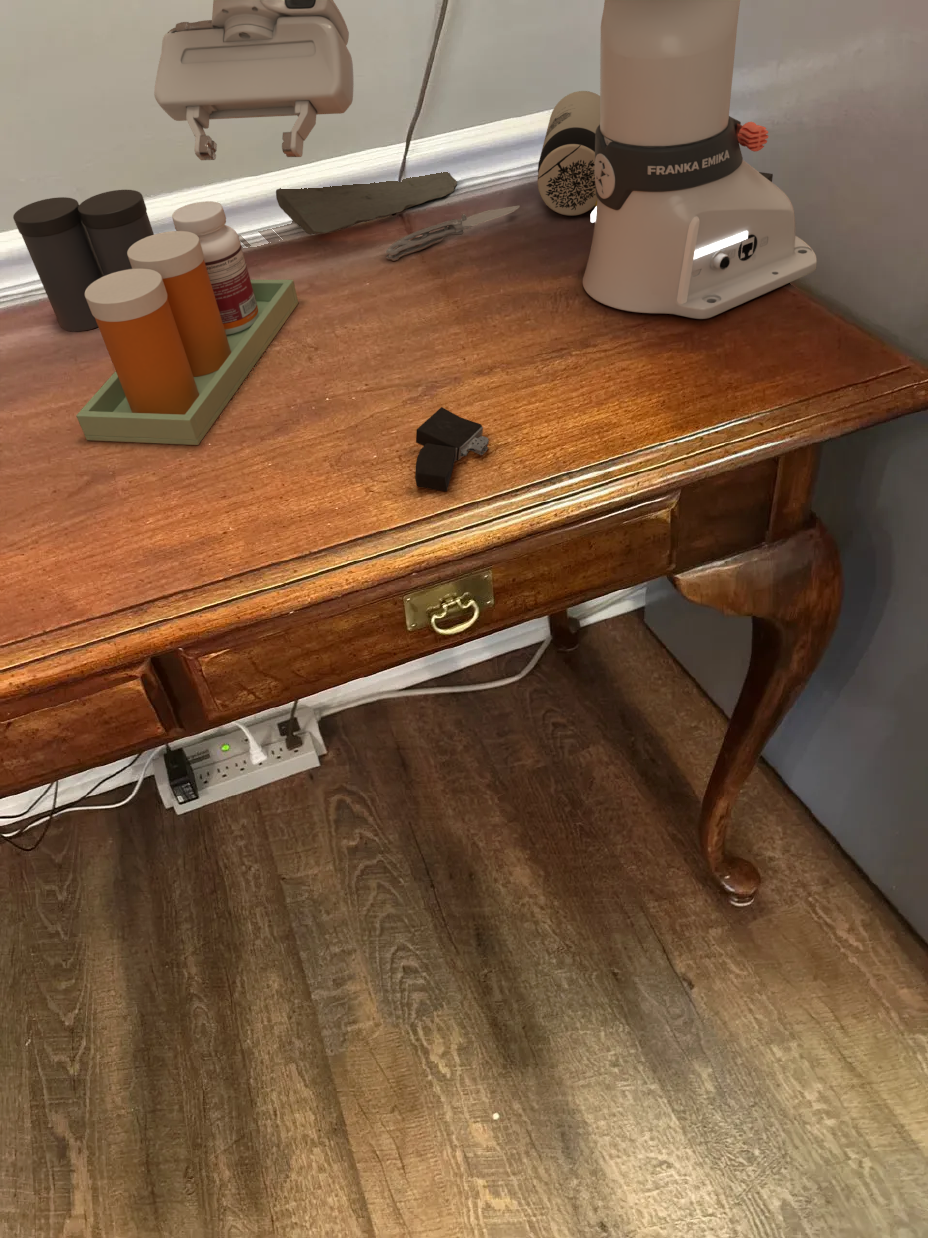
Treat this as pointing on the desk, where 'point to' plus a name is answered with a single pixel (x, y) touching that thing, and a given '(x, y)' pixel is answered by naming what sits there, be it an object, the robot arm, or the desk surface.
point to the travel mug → (570, 155)
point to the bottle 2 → (143, 341)
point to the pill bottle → (221, 262)
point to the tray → (113, 414)
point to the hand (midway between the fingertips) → (247, 155)
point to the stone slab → (359, 201)
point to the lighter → (445, 447)
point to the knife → (442, 232)
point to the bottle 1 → (186, 295)
